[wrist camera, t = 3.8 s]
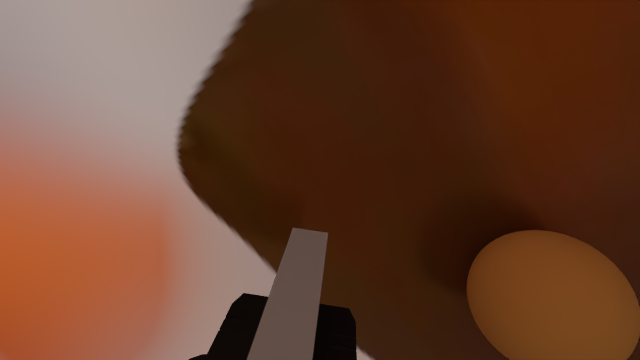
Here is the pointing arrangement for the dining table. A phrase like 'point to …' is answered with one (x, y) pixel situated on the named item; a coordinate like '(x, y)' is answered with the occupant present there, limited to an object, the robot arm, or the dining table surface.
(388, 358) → the dining table surface
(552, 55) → the dining table surface
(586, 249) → the ball
